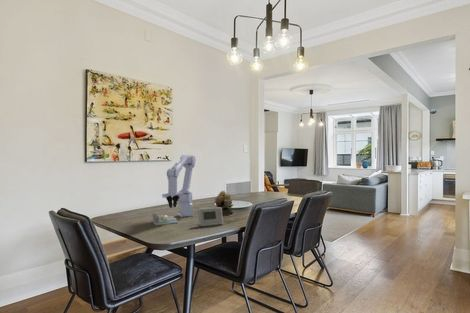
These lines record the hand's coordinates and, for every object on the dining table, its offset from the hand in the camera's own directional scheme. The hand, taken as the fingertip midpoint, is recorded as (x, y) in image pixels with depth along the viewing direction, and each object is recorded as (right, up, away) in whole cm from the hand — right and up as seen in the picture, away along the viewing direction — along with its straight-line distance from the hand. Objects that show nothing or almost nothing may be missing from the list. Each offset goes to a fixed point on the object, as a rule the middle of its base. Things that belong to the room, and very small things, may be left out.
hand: (172, 207), depth 191 cm
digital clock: (+26, -10, -8) cm, 29 cm away
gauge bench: (-5, -9, -2) cm, 11 cm away
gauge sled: (-6, -8, -3) cm, 10 cm away
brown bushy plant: (+33, -10, +29) cm, 45 cm away
